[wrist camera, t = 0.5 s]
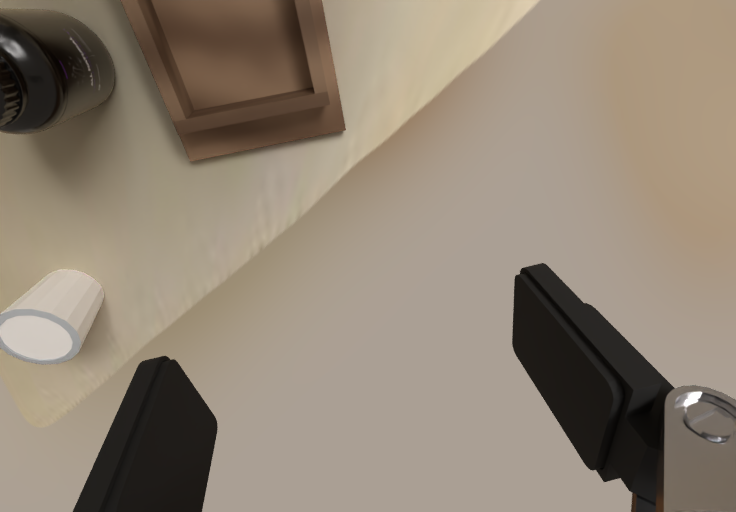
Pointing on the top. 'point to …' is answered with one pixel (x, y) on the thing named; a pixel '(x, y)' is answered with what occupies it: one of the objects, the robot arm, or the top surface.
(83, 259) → the top surface
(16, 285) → the top surface
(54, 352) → the shot glass
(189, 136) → the bottle cradle
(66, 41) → the supplement bottle
